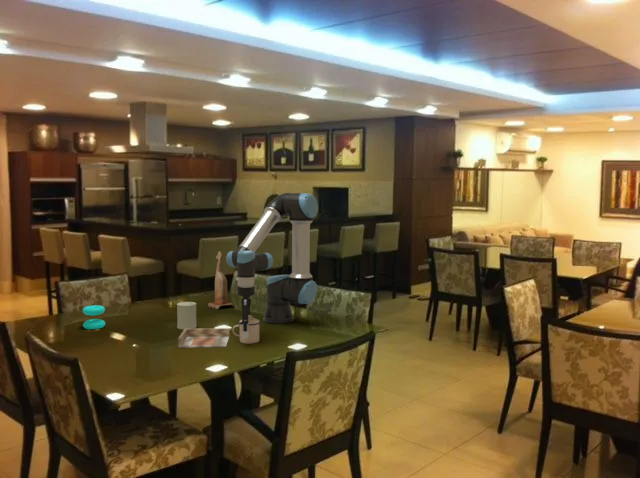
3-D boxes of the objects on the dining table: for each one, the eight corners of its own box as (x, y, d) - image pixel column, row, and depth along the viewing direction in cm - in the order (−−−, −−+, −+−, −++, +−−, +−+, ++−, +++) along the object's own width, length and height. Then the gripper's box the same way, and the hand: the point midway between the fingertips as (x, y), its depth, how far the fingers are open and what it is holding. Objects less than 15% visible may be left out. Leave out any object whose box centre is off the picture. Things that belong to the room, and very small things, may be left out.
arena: (229, 337, 274) (229, 328, 273) (226, 347, 257) (225, 337, 256) (184, 337, 272) (184, 328, 272) (178, 347, 256) (178, 338, 255)
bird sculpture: (224, 304, 347) (222, 249, 345) (235, 307, 339) (234, 250, 336) (207, 307, 340) (205, 251, 337) (218, 310, 331) (217, 252, 329)
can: (192, 330, 286) (191, 305, 285) (173, 328, 288) (173, 304, 287) (199, 325, 295) (199, 301, 294) (182, 324, 297) (181, 300, 296)
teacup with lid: (260, 338, 272) (260, 313, 271) (259, 343, 263) (259, 317, 261) (233, 338, 271) (233, 313, 270) (231, 344, 262) (231, 317, 261)
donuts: (78, 306, 289) (98, 303, 296) (79, 327, 290) (99, 324, 297) (88, 310, 282) (108, 306, 289) (89, 331, 283) (109, 327, 290)
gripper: (239, 281, 276) (239, 328, 278) (235, 291, 252) (235, 342, 254) (255, 281, 277) (255, 328, 279) (253, 291, 253) (253, 341, 255)
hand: (246, 334), depth 266 cm, fingers open, 12 cm apart
